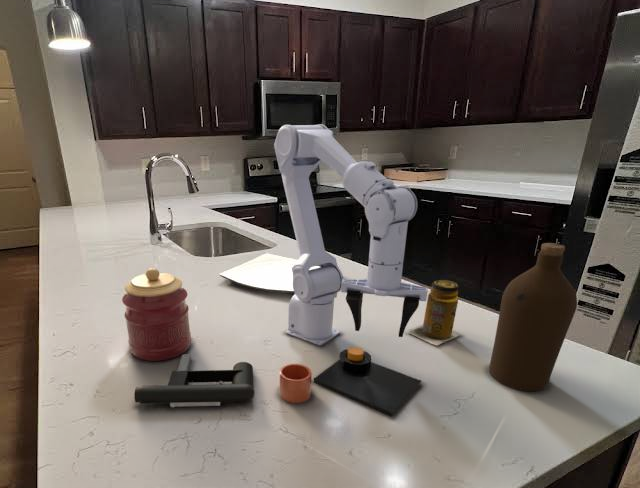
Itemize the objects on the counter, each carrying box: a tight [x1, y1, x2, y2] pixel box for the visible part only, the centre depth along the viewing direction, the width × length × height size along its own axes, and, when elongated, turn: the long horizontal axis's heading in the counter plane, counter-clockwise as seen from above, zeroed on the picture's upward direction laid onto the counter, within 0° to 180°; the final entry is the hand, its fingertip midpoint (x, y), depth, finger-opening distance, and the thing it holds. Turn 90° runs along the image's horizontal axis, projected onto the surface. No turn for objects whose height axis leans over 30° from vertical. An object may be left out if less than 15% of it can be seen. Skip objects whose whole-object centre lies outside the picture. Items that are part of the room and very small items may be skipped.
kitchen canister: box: [121, 267, 192, 362], centre depth 86 cm, size 13×13×18 cm
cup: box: [278, 363, 313, 404], centre depth 72 cm, size 5×5×4 cm
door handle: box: [133, 353, 255, 408], centre depth 76 cm, size 3×20×16 cm
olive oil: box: [488, 242, 578, 392], centre depth 72 cm, size 11×11×25 cm
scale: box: [313, 348, 422, 417], centre depth 75 cm, size 15×12×2 cm
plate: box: [219, 253, 320, 294], centre depth 128 cm, size 29×29×3 cm
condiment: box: [407, 279, 460, 347], centre depth 91 cm, size 7×8×12 cm
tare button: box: [347, 346, 365, 361], centre depth 80 cm, size 3×3×2 cm
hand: (379, 331), depth 77 cm, fingers open, 7 cm apart
